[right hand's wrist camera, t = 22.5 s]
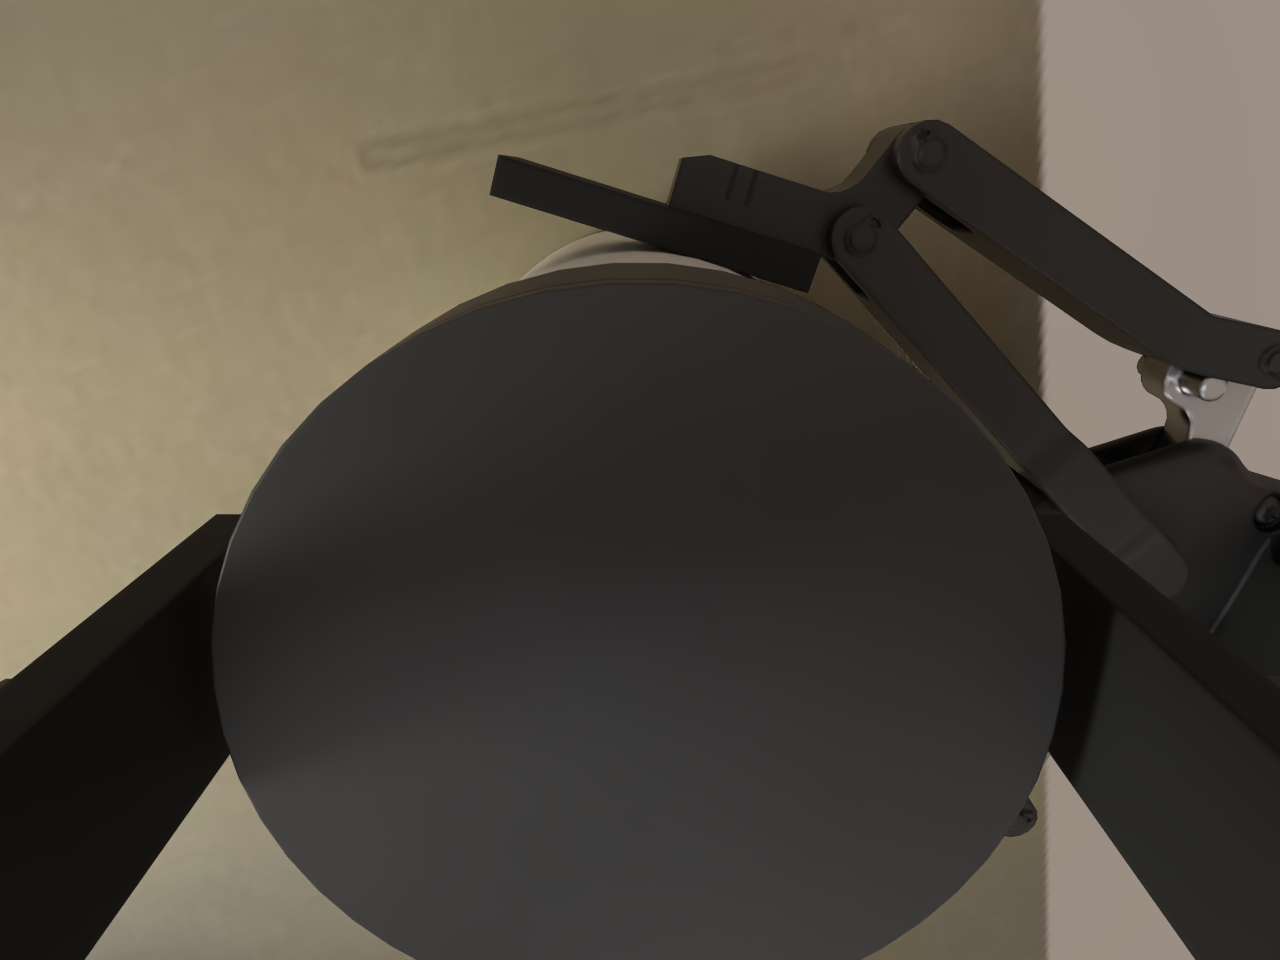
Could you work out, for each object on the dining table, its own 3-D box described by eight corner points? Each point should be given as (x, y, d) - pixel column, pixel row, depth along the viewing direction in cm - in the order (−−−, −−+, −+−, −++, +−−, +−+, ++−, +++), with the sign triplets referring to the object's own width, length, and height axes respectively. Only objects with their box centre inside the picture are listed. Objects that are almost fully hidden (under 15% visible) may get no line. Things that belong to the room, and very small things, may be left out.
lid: (1046, 802, 13) (1119, 915, 11) (451, 953, 14) (420, 1080, 12) (912, 143, 10) (982, 135, 8) (145, 408, 11) (36, 461, 9)
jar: (848, 300, 24) (1144, 476, 10) (721, 571, 27) (808, 999, 13) (542, 174, 23) (386, 176, 9) (444, 473, 26) (212, 828, 12)
